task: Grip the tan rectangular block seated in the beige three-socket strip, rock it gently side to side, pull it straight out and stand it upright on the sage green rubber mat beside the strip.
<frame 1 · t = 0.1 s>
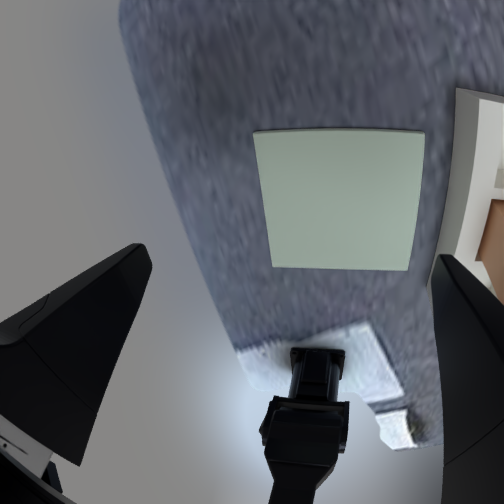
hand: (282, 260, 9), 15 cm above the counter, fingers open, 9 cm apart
tan rectangular block: (493, 208, 19), resting on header
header: (491, 205, 19), on the counter
mat: (341, 203, 23), on the counter
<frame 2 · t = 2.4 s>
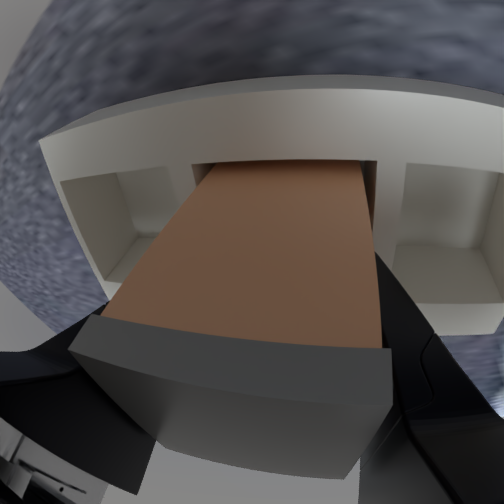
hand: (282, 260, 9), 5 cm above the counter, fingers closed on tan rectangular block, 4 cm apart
tan rectangular block: (299, 188, 12), point 1 cm above the counter, touching gripper, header
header: (300, 183, 13), on the counter
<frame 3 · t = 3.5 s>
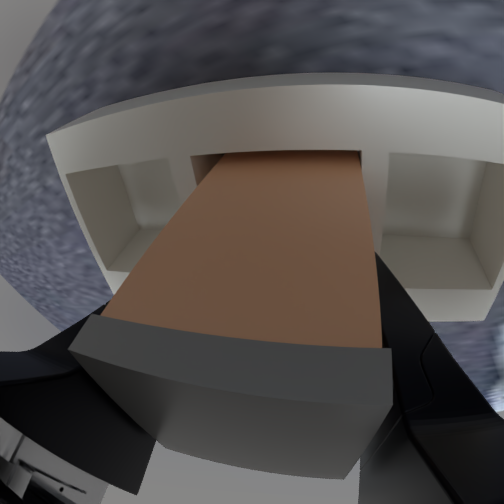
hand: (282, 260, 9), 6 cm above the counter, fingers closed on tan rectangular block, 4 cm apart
tan rectangular block: (299, 188, 12), point 1 cm above the counter, touching gripper
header: (293, 176, 13), on the counter
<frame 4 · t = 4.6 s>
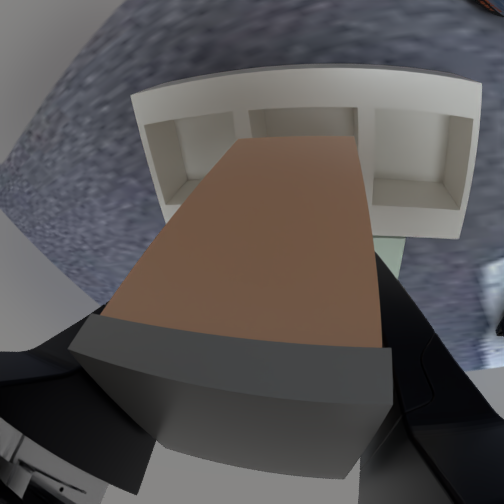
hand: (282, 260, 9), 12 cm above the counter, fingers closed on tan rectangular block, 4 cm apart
tan rectangular block: (299, 188, 12), point 7 cm above the counter, touching gripper
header: (311, 135, 18), on the counter
mat: (321, 291, 26), on the counter
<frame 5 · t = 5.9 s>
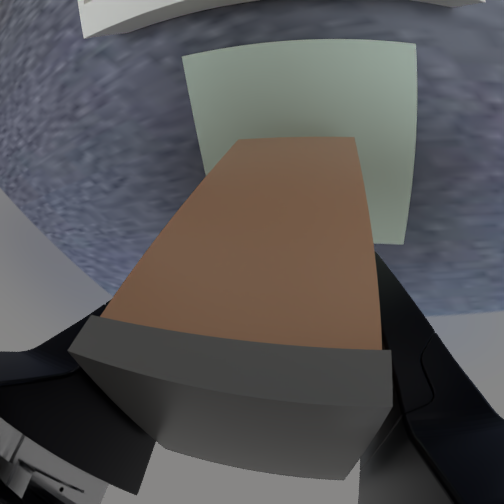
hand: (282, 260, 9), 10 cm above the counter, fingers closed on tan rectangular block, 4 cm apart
tan rectangular block: (299, 189, 12), point 5 cm above the counter, touching gripper
mat: (306, 146, 16), on the counter
when the fingers open (6 cm above the counter, at t = 6.8 s): tan rectangular block drops 1 cm, resting on mat.
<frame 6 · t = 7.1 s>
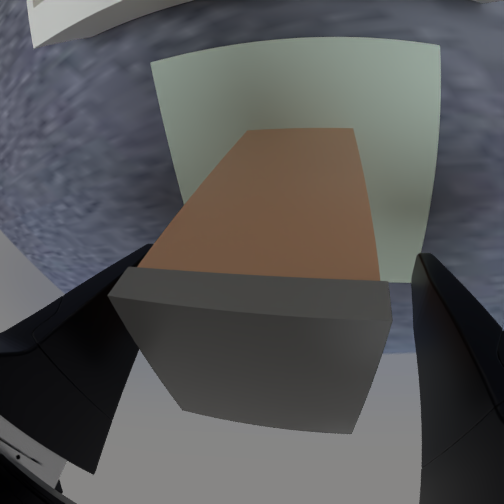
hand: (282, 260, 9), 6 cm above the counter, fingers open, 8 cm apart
tan rectangular block: (302, 176, 13), point 1 cm above the counter, touching mat
mat: (302, 170, 14), on the counter
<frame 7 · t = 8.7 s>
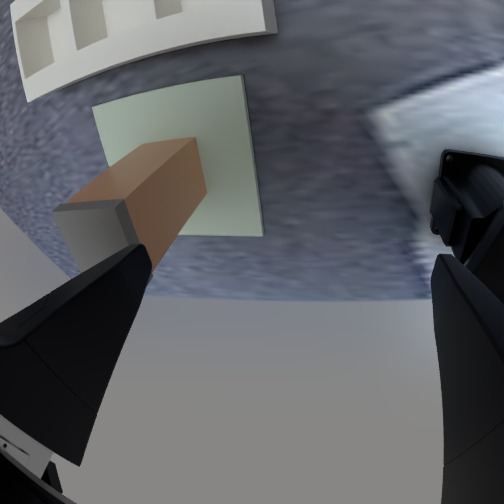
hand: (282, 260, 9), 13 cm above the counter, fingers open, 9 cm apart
tan rectangular block: (174, 167, 22), point 1 cm above the counter, touching mat
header: (137, 2, 15), on the counter
mat: (176, 164, 22), on the counter
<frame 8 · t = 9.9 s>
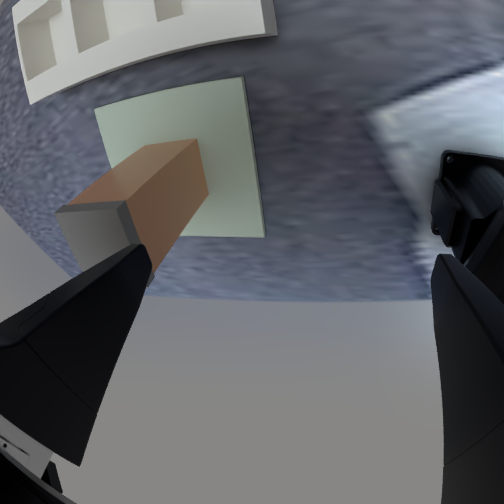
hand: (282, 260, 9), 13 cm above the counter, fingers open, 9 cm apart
tan rectangular block: (176, 169, 22), point 1 cm above the counter, touching mat
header: (138, 4, 15), on the counter
mat: (178, 166, 23), on the counter
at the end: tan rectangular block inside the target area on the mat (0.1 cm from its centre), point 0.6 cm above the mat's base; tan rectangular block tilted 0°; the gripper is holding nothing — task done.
